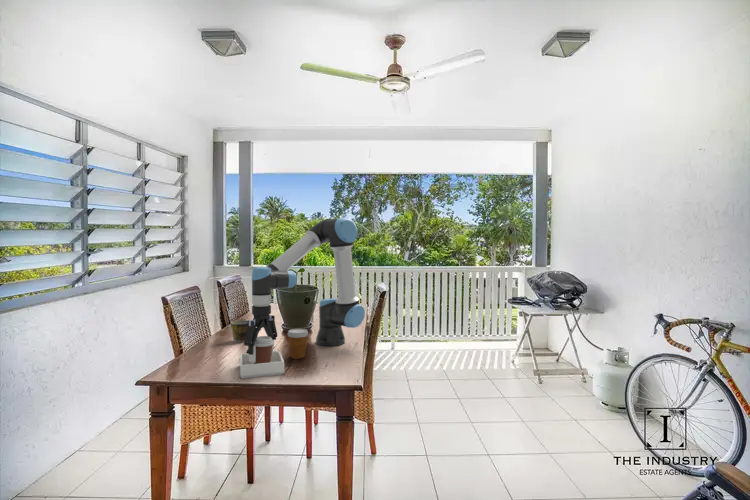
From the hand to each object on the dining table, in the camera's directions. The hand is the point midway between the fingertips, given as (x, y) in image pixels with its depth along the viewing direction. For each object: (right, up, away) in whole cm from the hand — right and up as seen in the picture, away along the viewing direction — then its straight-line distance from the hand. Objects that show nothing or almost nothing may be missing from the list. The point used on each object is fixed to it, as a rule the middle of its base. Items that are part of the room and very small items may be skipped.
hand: (261, 358), depth 165 cm
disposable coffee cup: (+11, -5, +19) cm, 23 cm away
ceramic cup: (-24, -3, +45) cm, 51 cm away
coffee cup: (0, -4, 0) cm, 4 cm away
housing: (0, -5, 0) cm, 5 cm away
